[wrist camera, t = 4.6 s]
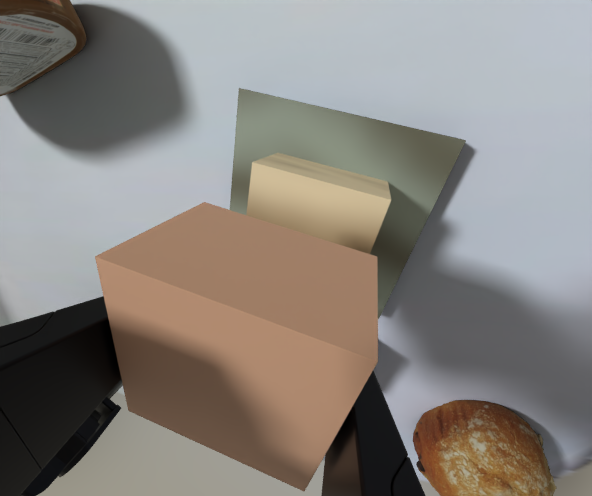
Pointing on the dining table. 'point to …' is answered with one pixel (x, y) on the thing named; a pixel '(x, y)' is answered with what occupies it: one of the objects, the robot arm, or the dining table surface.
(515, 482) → the bread roll
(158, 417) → the terracotta brick
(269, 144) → the build board
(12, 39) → the tin
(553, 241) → the dining table surface
